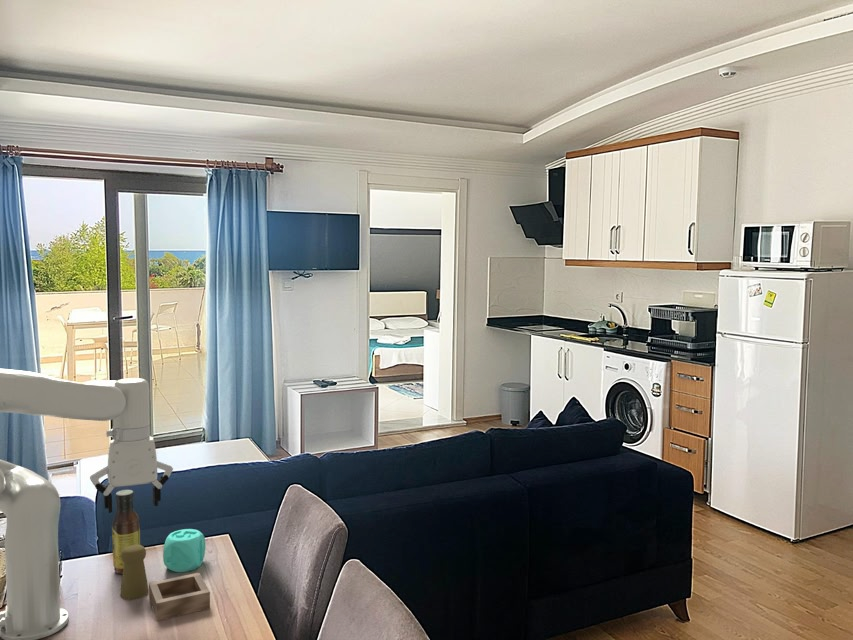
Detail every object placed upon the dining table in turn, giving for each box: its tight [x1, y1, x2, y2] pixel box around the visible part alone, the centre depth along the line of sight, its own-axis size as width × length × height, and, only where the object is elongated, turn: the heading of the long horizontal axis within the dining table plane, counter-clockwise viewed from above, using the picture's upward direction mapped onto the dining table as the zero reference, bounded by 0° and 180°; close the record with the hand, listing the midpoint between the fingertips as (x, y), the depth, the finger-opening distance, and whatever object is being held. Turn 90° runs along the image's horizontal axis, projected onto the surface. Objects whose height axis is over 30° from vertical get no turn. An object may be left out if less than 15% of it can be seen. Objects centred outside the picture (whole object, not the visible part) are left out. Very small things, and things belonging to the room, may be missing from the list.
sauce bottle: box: [111, 489, 141, 575], centre depth 171 cm, size 7×6×20 cm
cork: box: [119, 544, 149, 601], centre depth 159 cm, size 6×6×11 cm
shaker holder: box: [148, 572, 211, 622], centre depth 154 cm, size 11×11×4 cm
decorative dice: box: [162, 528, 206, 573], centre depth 174 cm, size 8×8×8 cm
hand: (132, 507), depth 158 cm, fingers open, 9 cm apart
